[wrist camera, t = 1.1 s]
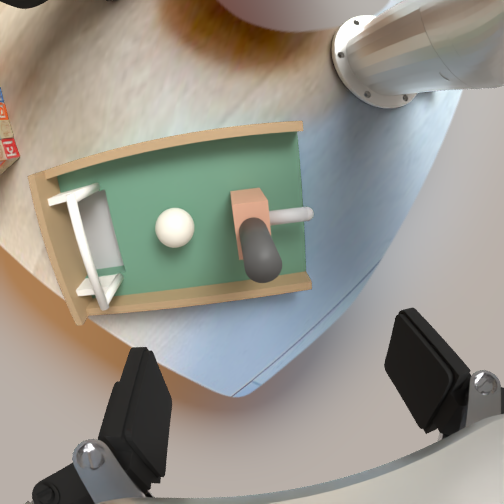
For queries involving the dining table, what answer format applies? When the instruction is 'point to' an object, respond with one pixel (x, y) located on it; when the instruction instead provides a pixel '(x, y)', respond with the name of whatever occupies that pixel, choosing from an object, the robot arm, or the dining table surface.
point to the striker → (260, 232)
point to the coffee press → (26, 3)
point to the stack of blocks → (6, 139)
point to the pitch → (157, 201)
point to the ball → (174, 227)
